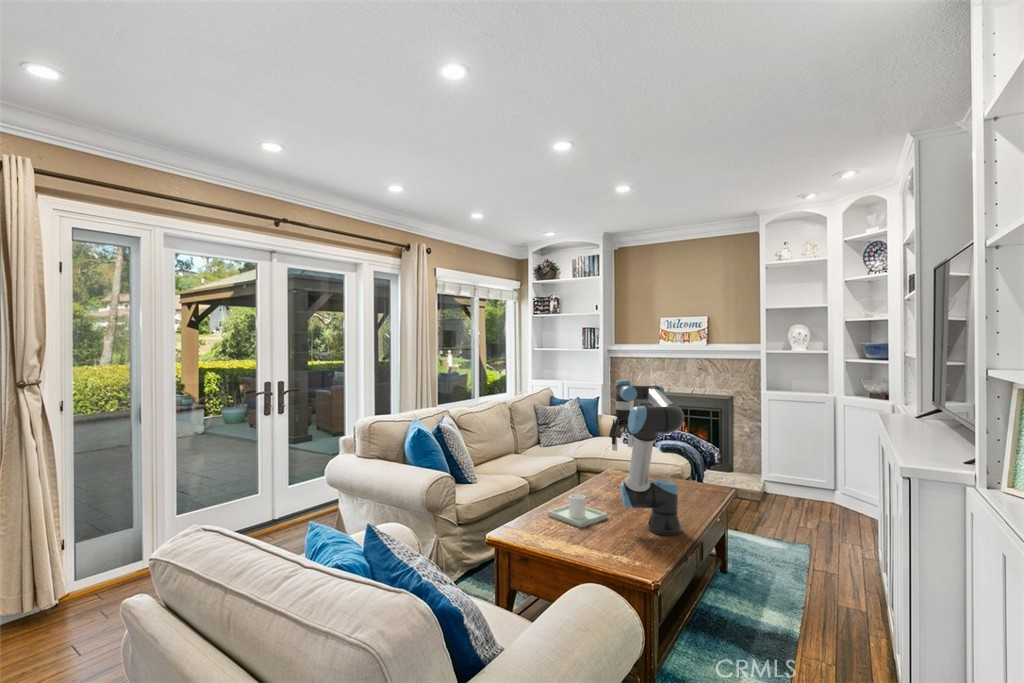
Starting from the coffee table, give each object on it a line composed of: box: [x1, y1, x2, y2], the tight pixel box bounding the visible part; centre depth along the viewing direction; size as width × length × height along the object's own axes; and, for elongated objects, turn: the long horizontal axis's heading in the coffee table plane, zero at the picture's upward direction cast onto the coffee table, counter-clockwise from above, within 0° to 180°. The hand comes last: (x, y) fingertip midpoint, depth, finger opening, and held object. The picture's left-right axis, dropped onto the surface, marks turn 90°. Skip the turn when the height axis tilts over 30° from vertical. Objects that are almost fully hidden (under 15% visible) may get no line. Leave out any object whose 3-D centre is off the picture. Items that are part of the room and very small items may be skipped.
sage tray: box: [547, 503, 608, 529], centre depth 257 cm, size 22×20×2 cm
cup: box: [568, 493, 586, 519], centre depth 257 cm, size 8×12×10 cm
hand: (622, 448), depth 271 cm, fingers open, 13 cm apart
